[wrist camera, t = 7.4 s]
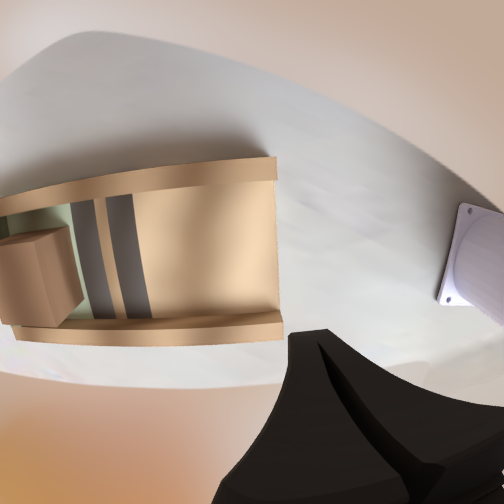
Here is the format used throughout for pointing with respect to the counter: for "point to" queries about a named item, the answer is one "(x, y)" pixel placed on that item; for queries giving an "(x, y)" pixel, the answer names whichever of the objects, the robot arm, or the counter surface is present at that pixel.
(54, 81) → the counter surface
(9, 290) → the walnut block
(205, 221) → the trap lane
